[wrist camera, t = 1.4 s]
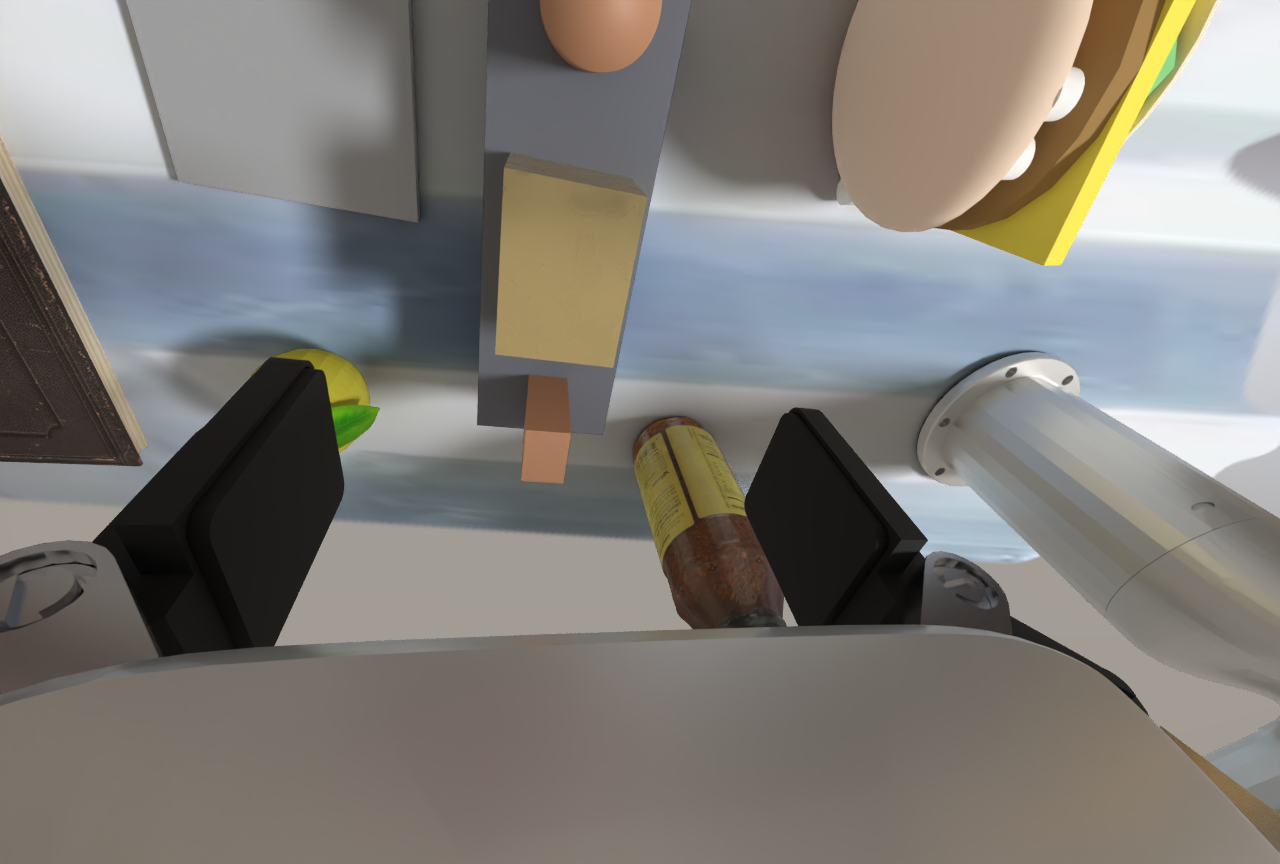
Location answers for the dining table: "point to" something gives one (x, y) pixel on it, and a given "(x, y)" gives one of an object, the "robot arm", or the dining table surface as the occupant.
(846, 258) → the dining table surface
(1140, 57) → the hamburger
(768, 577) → the sauce bottle
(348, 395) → the lemon
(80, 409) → the hardcover book
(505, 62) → the plane body
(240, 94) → the mat
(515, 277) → the tan rectangular block
